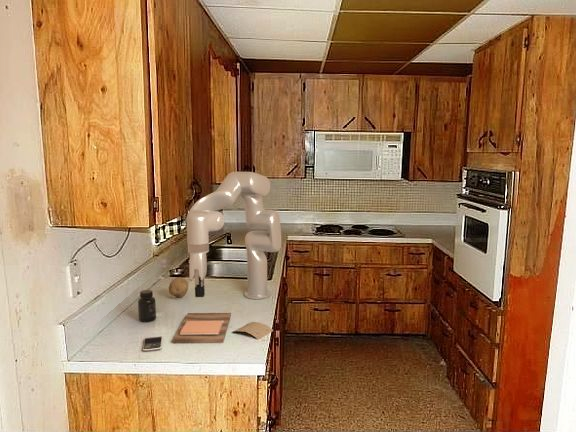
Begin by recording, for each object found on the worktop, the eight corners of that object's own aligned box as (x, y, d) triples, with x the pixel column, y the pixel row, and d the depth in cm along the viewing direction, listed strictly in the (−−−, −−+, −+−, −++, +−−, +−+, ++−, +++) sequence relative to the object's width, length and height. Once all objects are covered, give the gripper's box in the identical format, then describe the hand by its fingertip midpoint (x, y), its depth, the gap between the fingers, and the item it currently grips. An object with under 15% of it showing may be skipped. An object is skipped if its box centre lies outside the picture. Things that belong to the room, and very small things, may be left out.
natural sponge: (178, 303, 197) (177, 282, 196) (164, 299, 202) (164, 278, 201) (192, 297, 205) (192, 277, 203) (179, 294, 210) (179, 274, 208)
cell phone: (142, 353, 148) (142, 350, 148) (145, 340, 159) (145, 336, 158) (161, 352, 149) (161, 348, 149) (162, 338, 160) (162, 335, 160)
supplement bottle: (155, 315, 182) (154, 288, 180) (156, 321, 175) (155, 293, 174) (138, 317, 179) (137, 289, 178) (138, 323, 173) (137, 295, 171)
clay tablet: (275, 332, 167) (274, 325, 166) (260, 342, 158) (260, 335, 157) (244, 325, 174) (244, 318, 173) (229, 334, 165) (229, 327, 164)
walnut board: (188, 316, 181) (187, 313, 181) (230, 316, 181) (230, 312, 181) (173, 343, 155) (173, 339, 155) (223, 343, 156) (223, 339, 155)
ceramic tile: (179, 331, 157) (179, 334, 157) (219, 331, 158) (219, 334, 158) (187, 320, 170) (187, 322, 170) (223, 320, 170) (223, 322, 171)
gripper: (191, 243, 163) (193, 290, 166) (183, 252, 148) (185, 303, 151) (211, 243, 163) (213, 289, 166) (205, 252, 148) (206, 303, 151)
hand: (200, 296), depth 158 cm, fingers closed
